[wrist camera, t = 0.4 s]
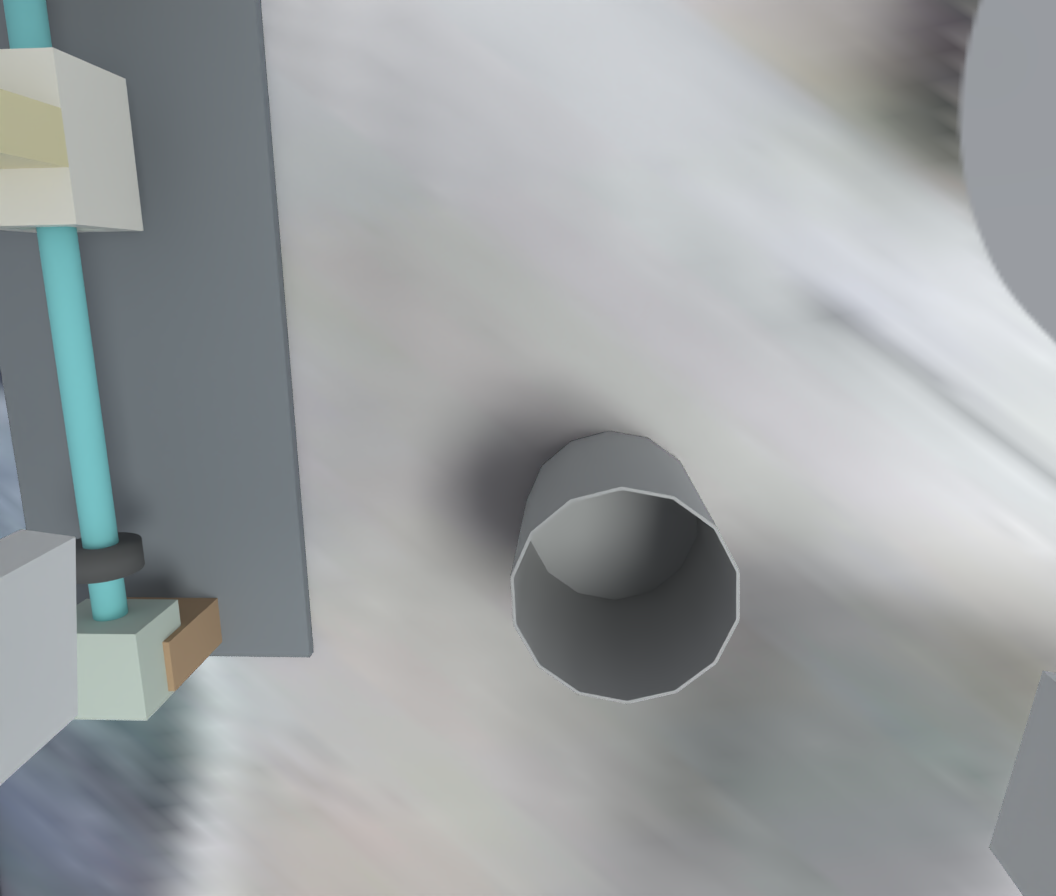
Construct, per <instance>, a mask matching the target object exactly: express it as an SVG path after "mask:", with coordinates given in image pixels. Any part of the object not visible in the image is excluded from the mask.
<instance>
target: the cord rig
mask: <svg viewBox="0 0 1056 896" xmlns="http://www.w3.org/2000/svg"><path fill="white" fill-rule="evenodd" d="M47 47H53V48H56V49H58V50H60V51H62V52H65V53H67V54H69V55H72V56H74V57H76V58H79V59H81V60H83V61H86V62H88V63H90V64H93V65H95V66H97V67H99V68H102V69H104V70H106V71H109V72H111V73H113V74H116V75H118V76H120V77H123V78H125V79H126V86H127V94H128V103H129V112H130V120H131V129H132V137H133V146H134V154H135V163H136V171H137V180H138V188H139V197H140V205H141V214H142V222H143V231H118V232H77V227H36V231H37V233H32V232H18V231H5V230H0V368H1V375H2V381H3V387H4V393H5V399H6V406H7V412H8V418H9V424H10V430H11V437H12V443H13V449H14V455H15V461H16V468H17V474H18V480H19V486H20V492H21V499H22V505H23V511H24V517H25V523H26V530H30V531H37V532H44V533H51V534H59V535H66V536H73V537H75V541H76V613H77V685H78V715H77V716H76V717H75V718H74V719H91V720H145V721H147V720H148V719H149V718H150V717H151V716H152V715H153V714H154V713H155V712H156V711H157V710H158V709H159V707H160V706H161V705H162V704H163V703H164V702H165V701H166V700H167V699H168V698H169V697H170V696H171V695H172V694H173V693H174V692H175V691H176V690H177V689H178V688H179V687H180V686H181V685H182V683H183V682H184V681H185V680H186V679H187V678H188V677H189V676H190V675H191V674H192V673H193V672H194V671H195V670H196V669H197V668H198V667H199V666H200V665H201V664H202V663H203V662H204V660H205V659H206V658H207V657H208V656H249V657H310V656H311V655H312V653H313V640H312V627H311V615H310V603H309V590H308V578H307V566H306V553H305V541H304V529H303V517H302V504H301V492H300V480H299V467H298V455H297V443H296V431H295V418H294V406H293V394H292V381H291V369H290V357H289V345H288V332H287V320H286V308H285V295H284V283H283V271H282V258H281V246H280V234H279V222H278V209H277V197H276V185H275V172H274V160H273V148H272V136H271V123H270V111H269V99H268V86H267V74H266V62H265V50H264V37H263V25H262V13H261V0H0V49H19V48H47Z"/></svg>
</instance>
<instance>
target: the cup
mask: <svg viewBox="0 0 1056 896" xmlns="http://www.w3.org/2000/svg"><path fill="white" fill-rule="evenodd" d="M510 580H511V597H512V614H513V626H514V627H515V629H516V631H517V632H518V634H519V636H520V638H521V639H522V641H523V643H524V644H525V646H526V648H527V650H528V651H529V653H530V655H531V657H532V658H533V660H534V662H535V663H536V665H537V667H539V668H540V669H542V670H543V671H544V672H546V673H547V674H549V675H550V676H552V677H553V678H555V679H556V680H558V681H559V682H560V683H562V684H563V685H565V686H566V687H568V688H569V689H571V690H572V691H574V692H575V693H576V694H578V695H583V696H588V697H594V698H599V699H604V700H609V701H615V702H620V703H625V704H629V703H634V702H638V701H643V700H647V699H652V698H656V697H661V696H665V695H670V694H674V693H677V692H679V691H680V690H681V689H683V688H684V687H685V686H687V685H688V684H689V683H691V682H692V681H693V680H695V679H696V678H698V677H699V676H700V675H702V674H703V673H704V672H706V671H707V670H708V669H710V668H711V667H712V666H714V665H715V664H717V662H718V660H719V658H720V656H721V654H722V652H723V650H724V648H725V647H726V645H727V643H728V641H729V639H730V637H731V635H732V633H733V631H734V630H735V628H736V626H737V624H738V622H739V612H740V571H739V569H738V567H737V565H736V563H735V561H734V559H733V557H732V555H731V553H730V551H729V549H728V548H727V546H726V544H725V542H724V540H723V538H722V536H721V534H720V532H719V530H718V528H717V526H716V525H715V523H714V521H713V519H712V517H711V516H710V514H709V512H708V510H707V508H706V507H705V505H704V503H703V501H702V499H701V498H700V496H699V494H698V492H697V490H696V489H695V487H694V485H693V483H692V482H691V480H690V478H689V476H688V474H687V473H686V471H685V469H684V467H683V465H682V464H681V462H680V461H679V460H678V459H677V458H675V457H674V456H673V455H671V454H670V453H668V452H667V451H666V450H664V449H663V448H662V447H660V446H659V445H657V444H656V443H655V442H653V441H652V440H651V439H649V438H646V437H640V436H635V435H629V434H624V433H619V432H613V431H607V432H603V433H600V434H596V435H592V436H588V437H584V438H580V439H577V440H573V441H571V442H569V443H568V444H567V445H566V446H565V447H564V448H562V449H561V450H560V451H559V452H558V453H556V454H555V455H554V456H553V457H552V458H550V459H549V460H548V461H547V462H546V463H545V464H543V465H542V467H541V469H540V471H539V473H538V476H537V478H536V480H535V483H534V485H533V487H532V489H531V492H530V494H529V496H528V498H527V502H526V506H525V511H524V516H523V520H522V525H521V530H520V534H519V539H518V544H517V548H516V553H515V558H514V562H513V567H512V572H511V577H510Z"/></svg>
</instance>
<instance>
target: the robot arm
mask: <svg viewBox="0 0 1056 896" xmlns="http://www.w3.org/2000/svg"><path fill="white" fill-rule="evenodd" d="M77 715H78V685H77V613H76V541H75V537H73V536H66V535H59V534H51V533H44V532H37V531H30V530H23V529H21V530H19V531H16V532H14V533H12V534H10V535H8V536H6V537H4V538H2V539H0V785H1V784H2V783H3V782H5V781H6V780H7V779H8V778H9V777H10V776H11V775H12V774H13V773H15V772H16V771H17V770H18V769H19V768H20V767H21V766H22V765H23V764H24V763H26V762H27V761H28V760H29V759H30V758H31V757H32V756H33V755H34V754H35V753H37V752H38V751H39V750H40V749H41V748H42V747H43V746H44V745H45V744H46V743H48V742H49V741H50V740H51V739H52V738H53V737H54V736H55V735H56V734H58V733H59V732H60V731H61V730H62V729H63V728H64V727H65V726H66V725H67V724H69V723H70V722H71V721H72V720H73V719H74V718H75V717H76V716H77ZM989 848H990V850H991V851H992V852H993V854H994V855H995V857H996V858H997V859H998V861H999V862H1000V864H1001V865H1002V866H1003V868H1004V869H1005V871H1006V872H1007V874H1008V875H1009V876H1010V878H1011V879H1012V881H1013V882H1014V883H1015V885H1016V886H1017V888H1018V889H1019V890H1020V892H1021V893H1022V895H1023V896H1056V673H1055V672H1047V671H1043V672H1042V675H1041V679H1040V682H1039V685H1038V688H1037V692H1036V695H1035V698H1034V702H1033V705H1032V708H1031V711H1030V715H1029V718H1028V721H1027V724H1026V728H1025V731H1024V734H1023V738H1022V741H1021V744H1020V747H1019V751H1018V754H1017V757H1016V761H1015V764H1014V767H1013V770H1012V774H1011V777H1010V780H1009V783H1008V787H1007V790H1006V793H1005V797H1004V800H1003V803H1002V806H1001V810H1000V813H999V816H998V820H997V823H996V826H995V829H994V833H993V836H992V839H991V842H990V846H989Z"/></svg>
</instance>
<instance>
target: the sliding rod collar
mask: <svg viewBox="0 0 1056 896" xmlns="http://www.w3.org/2000/svg"><path fill="white" fill-rule="evenodd" d="M36 227H77V232H118V231H143V222H142V214H141V205H140V197H139V188H138V180H137V171H136V163H135V154H134V146H133V137H132V129H131V120H130V112H129V103H128V94H127V86H126V79H125V78H123V77H120V76H118V75H116V74H113V73H111V72H109V71H106V70H104V69H102V68H99V67H97V66H95V65H93V64H90V63H88V62H86V61H83V60H81V59H79V58H76V57H74V56H72V55H69V54H67V53H65V52H62V51H60V50H58V49H56V48H53V47H47V48H19V49H0V230H5V231H18V232H32V233H37V231H36Z"/></svg>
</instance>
